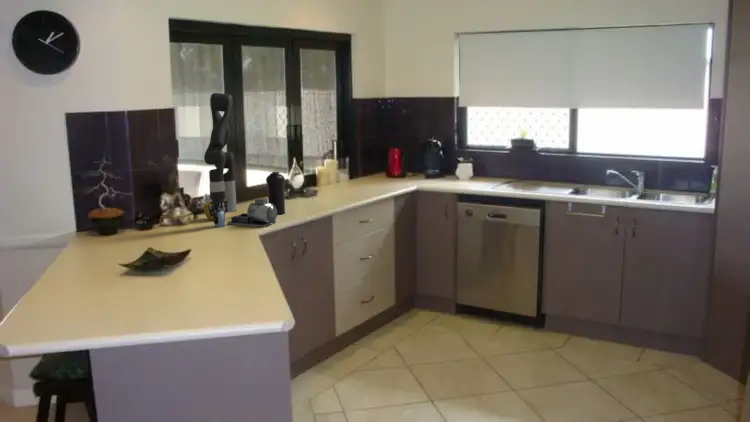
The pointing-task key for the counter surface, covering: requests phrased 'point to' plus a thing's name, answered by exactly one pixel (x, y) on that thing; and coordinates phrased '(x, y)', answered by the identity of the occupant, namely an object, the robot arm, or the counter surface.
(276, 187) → the water bottle
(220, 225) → the blue capped cylinder
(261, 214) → the electric motor
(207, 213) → the flower pot
